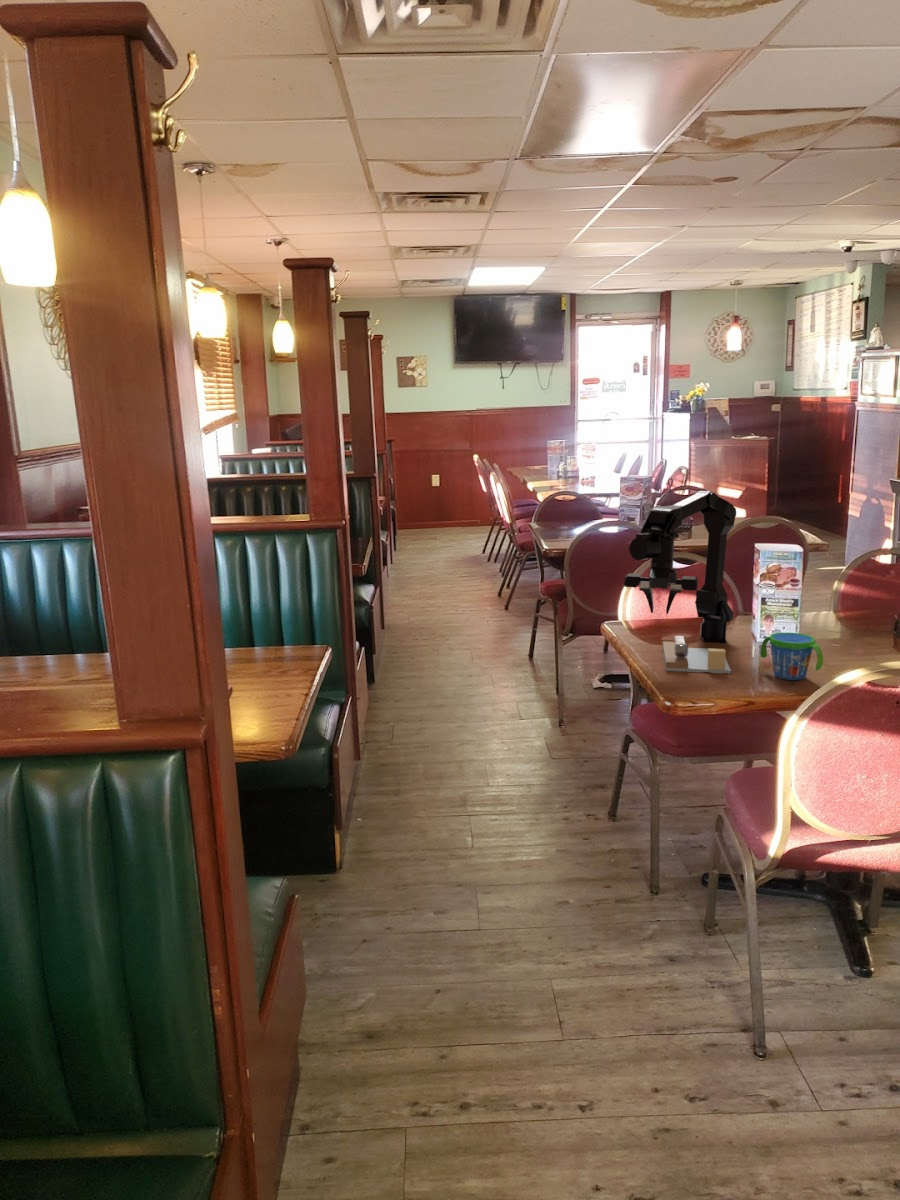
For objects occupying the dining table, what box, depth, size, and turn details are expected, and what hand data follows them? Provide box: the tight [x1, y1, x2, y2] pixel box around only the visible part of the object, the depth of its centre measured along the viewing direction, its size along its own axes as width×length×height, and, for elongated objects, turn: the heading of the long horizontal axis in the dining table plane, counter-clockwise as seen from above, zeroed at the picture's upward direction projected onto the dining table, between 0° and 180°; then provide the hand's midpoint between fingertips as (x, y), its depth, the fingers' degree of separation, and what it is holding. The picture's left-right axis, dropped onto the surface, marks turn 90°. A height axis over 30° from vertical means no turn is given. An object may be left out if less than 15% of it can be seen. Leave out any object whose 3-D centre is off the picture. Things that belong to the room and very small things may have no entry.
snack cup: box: [759, 632, 824, 681], centre depth 210 cm, size 16×10×10 cm
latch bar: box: [674, 635, 689, 656], centre depth 224 cm, size 13×3×2 cm, turn 169°
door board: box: [661, 641, 732, 675], centre depth 225 cm, size 16×20×6 cm
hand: (659, 613), depth 227 cm, fingers open, 4 cm apart
